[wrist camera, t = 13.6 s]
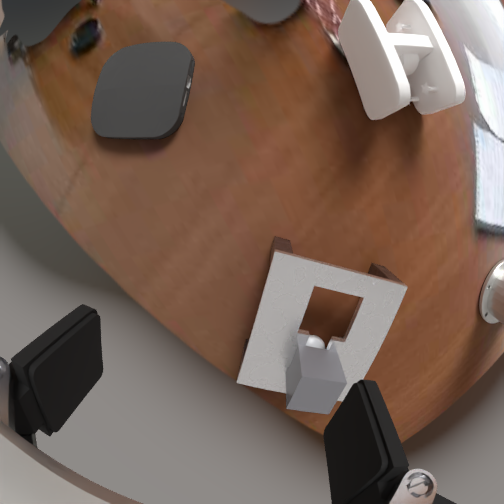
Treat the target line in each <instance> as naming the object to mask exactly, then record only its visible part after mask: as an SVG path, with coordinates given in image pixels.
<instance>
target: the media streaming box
mask: <svg viewBox="0 0 504 504" xmlns="http://www.w3.org/2000/svg"><path fill="white" fill-rule="evenodd" d="M194 66H195V61H194V58H193V56H192V54H191V53H190V51H189V50H188V49H187V48H186V47H185V46H184V45H182V44H180V43H177V42H152V43H143V44H137V45H132V46H128V47H125V48H122V49H120V50H119V51H117V52H116V53H114V54H113V55H112V56H111V57H110V58H109V59H108V60H107V62H106V63H105V65H104V66H103V68H102V71H101V73H100V76H99V79H98V82H97V85H96V89H95V93H94V97H93V103H92V111H91V123H92V126H93V129H94V130H95V132H96V133H97V134H98V135H100V136H102V137H107V138H117V139H162V138H165V137H167V136H169V135H171V134H172V133H174V132H175V131H176V130H177V129H178V127H179V126H180V125H181V123H182V121H183V118H184V114H185V110H186V106H187V101H188V97H189V92H190V88H191V83H192V77H193V72H194Z"/></svg>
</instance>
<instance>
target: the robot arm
mask: <svg viewBox="0 0 504 504" xmlns="http://www.w3.org/2000/svg"><path fill="white" fill-rule="evenodd" d="M479 309H480V314H481V316H482V318H483V319H484V320H485V321H486V322H488V323H491V324H492V323H497V322H499V321H500V322H501V323H502V324H503V325H504V259H503V260H501V261H499V262H498V263H497V264H496V265H495V266H494V267H493V268H492V270H491V271H490V273H489V274H488V276H487V278H486V280H485V282H484V285H483V287H482V291H481V295H480V302H479ZM100 328H101V327H100V316H99V315H98V314H97V311H96V310H95V309H93V308H91V307H88V306H86V305H83V304H82V305H80V306H79V307H77V308H76V309H75V310H73V311H72V312H71V313H69V314H68V315H66V316H65V317H64V318H62V319H61V320H60V321H58V322H57V323H56V324H54V325H53V326H52V327H51V328H49V329H48V330H47V331H45V332H44V333H43V334H42V335H40V336H39V337H37V338H36V339H35V340H34V341H33V342H31V343H30V344H29V345H27V346H26V347H25V348H24V349H22V350H21V351H20V352H19V353H17V354H16V355H15V356H14V357H13V358H12V359H11V360H12V362H11V363H10V364H8V362H7V361H6V360H5V359H4V358H2V357H0V504H142V503H139V502H137V501H134V500H132V499H129V498H127V497H124V496H122V495H120V494H117V493H115V492H113V491H111V490H109V489H107V488H104V487H102V486H100V485H98V484H96V483H94V482H92V481H90V480H89V479H87V478H84V477H83V476H81V475H79V474H77V473H76V472H74V471H72V470H71V469H69V468H67V467H65V466H64V465H62V464H61V463H59V462H57V461H56V460H54V459H52V458H51V457H50V456H48V455H47V454H45V453H44V452H42V451H41V450H39V449H38V448H37V442H36V435H35V433H36V432H37V430H38V429H39V430H41V431H42V432H44V433H45V434H47V435H48V436H51V435H52V433H53V432H58V431H59V430H60V428H61V427H62V426H63V425H64V423H65V422H66V421H67V419H68V418H69V417H70V415H71V414H72V413H73V412H74V410H75V409H76V408H77V406H78V405H79V404H80V403H81V401H82V400H83V399H84V397H85V396H86V395H87V393H88V392H89V391H90V390H91V389H92V387H93V386H94V385H95V384H96V382H97V381H98V380H99V379H100V377H101V376H102V373H103V362H102V347H101V329H100ZM324 443H325V451H326V458H327V466H328V473H329V482H330V490H331V500H332V504H456V503H454V502H452V501H450V500H448V499H446V498H444V497H442V496H441V495H439V494H437V493H436V491H437V483H436V480H435V478H434V477H433V476H432V475H431V474H430V473H429V472H427V471H425V470H422V469H413V470H411V471H409V470H408V466H409V464H408V461H407V458H406V455H405V453H404V450H403V447H402V445H401V442H400V439H399V437H398V434H397V432H396V429H395V427H394V424H393V422H392V419H391V417H390V414H389V412H388V409H387V407H386V404H385V402H384V400H383V397H382V395H381V393H380V390H379V388H378V386H377V383H376V382H375V381H371V380H359V381H358V382H357V383H354V384H353V385H352V387H351V388H350V390H349V392H348V393H347V395H346V397H345V398H344V400H343V402H342V403H341V405H340V406H339V408H338V410H337V411H336V413H335V414H334V416H333V417H332V419H331V420H330V422H329V423H328V425H327V426H326V428H325V430H324Z"/></svg>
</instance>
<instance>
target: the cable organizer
mask: <svg viewBox="0 0 504 504" xmlns="http://www.w3.org/2000/svg"><path fill="white" fill-rule="evenodd" d="M338 36H339V41H340V44H341V46H342V49H343V51H344V53H345V56H346V58H347V61H348V63H349V66H350V69H351V71H352V74H353V77H354V80H355V82H356V85H357V88H358V91H359V94H360V97H361V100H362V103H363V106H364V109H365V112H366V114H367V116H368V117H369V118H370V119H371V120H378V119H383V118H385V117H386V116H388V115H390V114H392V113H394V112H396V111H398V110H400V109H401V108H403V107H405V106H407V105H408V104H409V105H410V102H412V101H413V103H414V106H415V108H416V109H417V111H418V112H419V113H420V114H433V113H435V112H438V111H441V110H444V109H446V108H449V107H452V106H455V105H458V104H461V103H462V102H463V101H464V99H465V86H464V82H463V79H462V76H461V74H460V71H459V69H458V66H457V64H456V61H455V59H454V56H453V54H452V52H451V50H450V47H449V45H448V43H447V41H446V39H445V37H444V35H443V33H442V31H441V29H440V27H439V25H438V23H437V21H436V20H435V18H434V16H433V14H432V12H431V11H430V9H429V7H428V6H427V5H426V4H425V3H424V2H423V1H422V0H405V1H404V2H403V3H402V4H401V6H400V7H399V8H398V10H397V11H396V12H395V14H394V15H393V16H392V18H391V19H390V20H389V21H388V23H387V25H386V28H385V26H384V24H383V22H382V20H381V18H380V17H379V15H378V13H377V11H376V9H375V7H374V6H373V4H372V3H371V2H370V0H350V3H349V5H348V7H347V10H346V12H345V14H344V17H343V19H342V21H341V24H340V26H339V28H338Z"/></svg>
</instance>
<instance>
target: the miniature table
mask: <svg viewBox="0 0 504 504" xmlns="http://www.w3.org/2000/svg"><path fill="white" fill-rule="evenodd" d="M314 286H318V287H322V288H326V289H330V290H334V291H338V292H342V293H347V294H351V295H355V296H359V297H360V299H359V302H358V304H357V307H356V309H355V312H354V314H353V316H352V319H351V321H350V324H349V326H348V328H347V330H346V333H345V335H344V337H343V338H340V337H334V336H332V337H331V339H330V342H329V344H328V346H327V349H326V350H331V351H337V352H338V355H339V359H340V362H341V365H342V368H343V371H344V374H345V377H346V381H347V384H346V386H345V388H344V390H343V391H342V393H341V395H340V396H339V398H338V400H337V401H343V400H344V398H345V397H346V395H347V393H348V392H349V390H350V388H351V387H352V385H353V384H354V383H357V382H358V381H359V380H363V378H364V377H365V375H366V373H367V371H368V369H369V368H370V366H371V364H372V362H373V360H374V358H375V356H376V355H377V353H378V351H379V349H380V347H381V345H382V343H383V341H384V339H385V337H386V335H387V333H388V331H389V328H390V326H391V324H392V322H393V320H394V318H395V315H396V313H397V311H398V309H399V306H400V304H401V301H402V299H403V297H404V294H405V292H406V289H407V286H406V285H405V284H404V283H403V282H402V281H401V280H399V279H398V278H397V277H396V276H395V275H394V274H392V273H391V272H390V271H389V270H388V269H387V268H385V267H384V266H381V265H378V264H374V263H372V264H371V267H370V270H369V273H368V274H367V273H363V272H359V271H356V270H352V269H348V268H345V267H341V266H337V265H333V264H330V263H326V262H322V261H318V260H314V259H311V258H307V257H303V256H299V255H296V254H293V251H292V247H291V243H290V240H287V239H283V238H280V237H276V236H275V237H274V241H273V245H272V249H271V258H270V269H269V272H268V276H267V279H266V283H265V286H264V290H263V293H262V297H261V300H260V304H259V307H258V311H257V314H256V318H255V321H254V325H253V328H252V331H251V335H250V338H249V340H248V339H246V341H245V344H244V348H243V352H242V357H241V363H240V368H239V373H238V378H237V383H239V384H243V385H248V386H252V387H257V388H261V389H266V390H271V391H276V392H282V393H286V377H285V375H286V373H287V370H288V368H289V366H290V363H291V361H292V358H293V356H294V353H295V351H296V348H297V346H298V344H300V345H305V346H306V343H307V341H308V338H309V336H310V335H309V331H305V330H301V329H299V327H300V324H301V322H302V319H303V316H304V313H305V311H306V308H307V305H308V302H309V299H310V296H311V293H312V291H313V288H314Z"/></svg>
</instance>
